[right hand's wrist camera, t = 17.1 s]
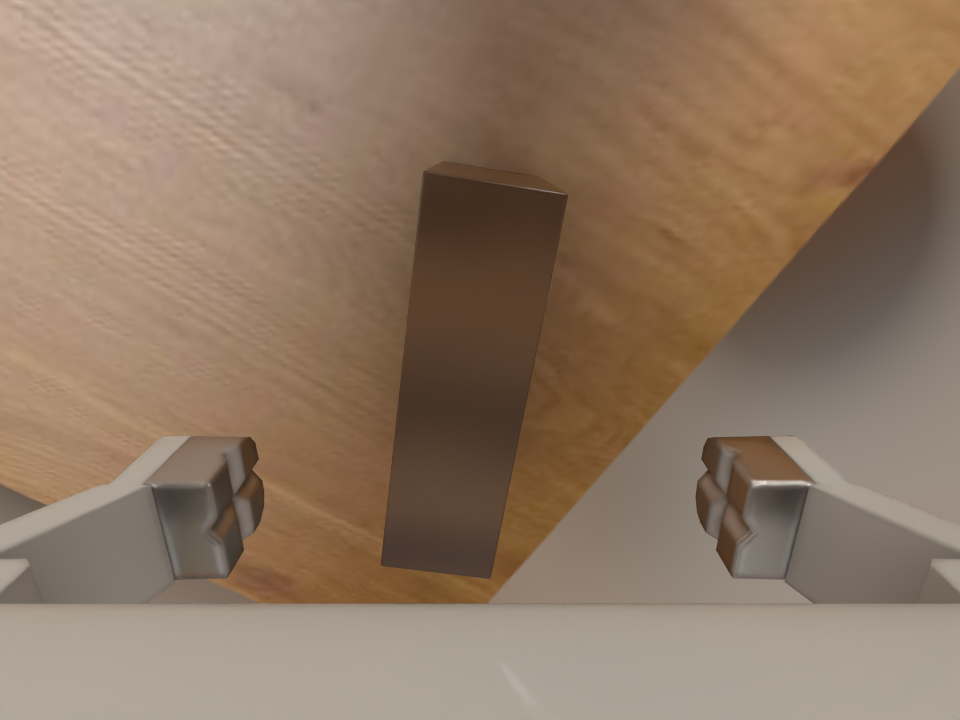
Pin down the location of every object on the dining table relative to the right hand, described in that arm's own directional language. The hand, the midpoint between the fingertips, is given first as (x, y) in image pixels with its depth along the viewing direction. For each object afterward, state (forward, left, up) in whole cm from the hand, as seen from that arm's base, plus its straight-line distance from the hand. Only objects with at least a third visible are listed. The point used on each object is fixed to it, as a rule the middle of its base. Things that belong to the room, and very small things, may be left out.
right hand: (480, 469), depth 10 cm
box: (0, +6, -26) cm, 27 cm away
